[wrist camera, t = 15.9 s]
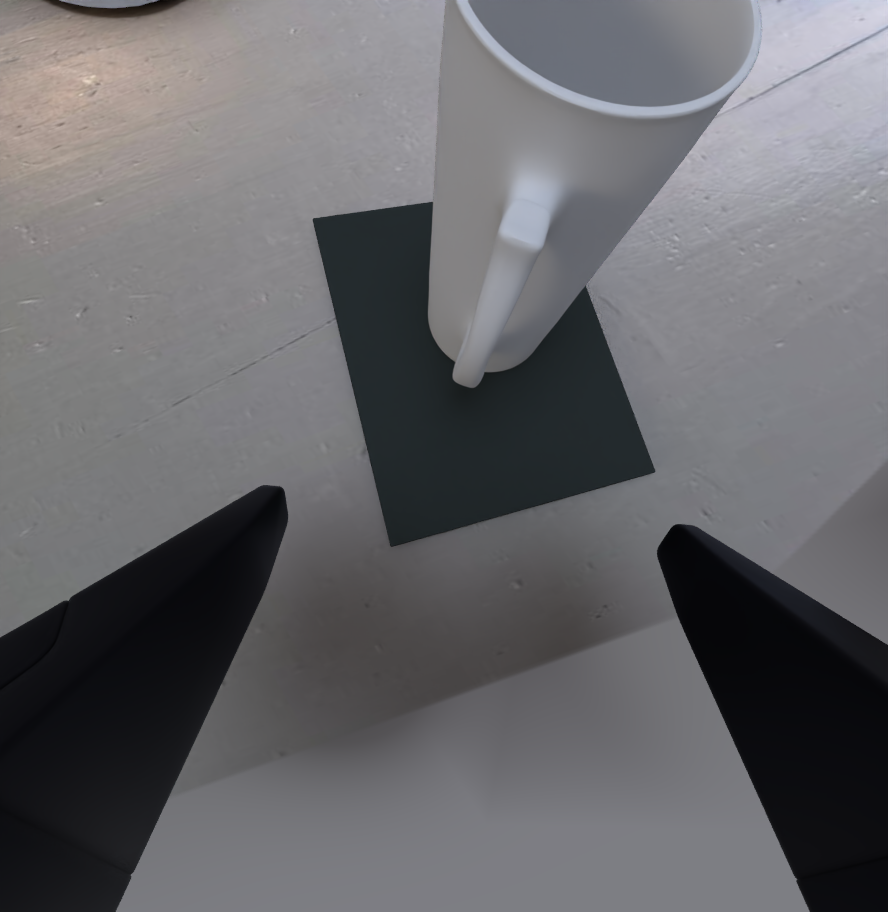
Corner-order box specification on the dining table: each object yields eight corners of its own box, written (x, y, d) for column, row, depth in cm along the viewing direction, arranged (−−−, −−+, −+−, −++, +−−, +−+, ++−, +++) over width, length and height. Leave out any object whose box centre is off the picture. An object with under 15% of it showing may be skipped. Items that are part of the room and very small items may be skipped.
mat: (650, 473, 19) (656, 472, 18) (391, 546, 16) (390, 546, 16) (545, 191, 21) (548, 185, 21) (314, 224, 19) (312, 218, 19)
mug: (447, 247, 19) (505, -173, 8) (559, 290, 20) (782, -57, 8) (381, 408, 17) (323, 164, 6) (508, 454, 17) (710, 312, 6)
